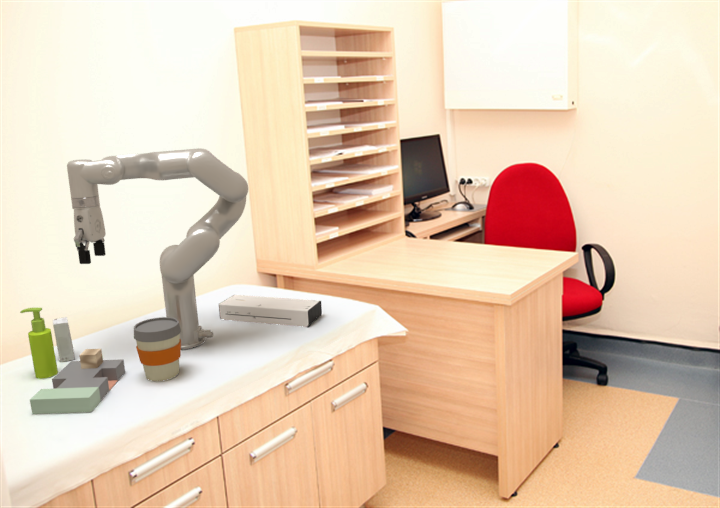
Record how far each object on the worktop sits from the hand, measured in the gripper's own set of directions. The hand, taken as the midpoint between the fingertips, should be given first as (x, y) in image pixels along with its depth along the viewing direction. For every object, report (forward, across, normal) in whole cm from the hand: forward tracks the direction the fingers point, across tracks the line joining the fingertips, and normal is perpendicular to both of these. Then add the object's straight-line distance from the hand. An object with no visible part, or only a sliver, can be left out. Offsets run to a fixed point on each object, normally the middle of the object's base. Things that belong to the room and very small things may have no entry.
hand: (93, 259), depth 195 cm
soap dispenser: (+31, -14, +11) cm, 36 cm away
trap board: (+30, -26, -5) cm, 40 cm away
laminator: (+30, +31, -46) cm, 63 cm away
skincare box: (+30, -2, +11) cm, 32 cm away
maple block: (+26, -18, -5) cm, 32 cm away
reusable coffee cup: (+30, -16, -24) cm, 41 cm away
